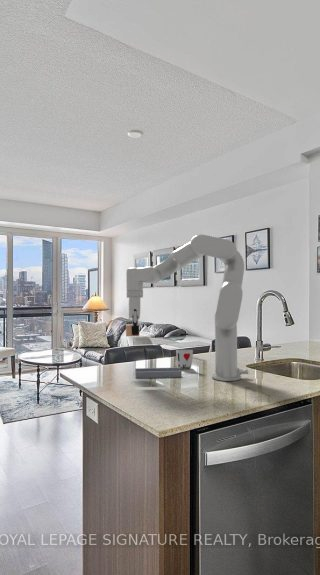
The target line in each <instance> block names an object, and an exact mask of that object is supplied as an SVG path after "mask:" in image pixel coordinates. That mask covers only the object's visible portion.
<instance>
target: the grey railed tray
mask: <svg viewBox="0 0 320 575" xmlns="http://www.w3.org/2000/svg"><path fill="white" fill-rule="evenodd" d="M134 374H135V379H149V378H151V379H153V378H154V379H155V378H161V379H162V378H182V370H180V369H179V367H178V366H177V367H147V368H146V367H145V368H143V367H142V368H141V367H138V368H135V372H134Z"/></svg>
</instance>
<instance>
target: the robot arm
mask: <svg viewBox="0 0 320 575" xmlns="http://www.w3.org/2000/svg"><path fill="white" fill-rule="evenodd" d="M204 256H209V257H211V258H218V259H219V260H220V261H221V262H222V263H223V264H224V272H223V278H222V283H221V287H220V290H219V294H218V300H217V305H216V310H215V313H214V332H215V333H214V336H215V337H214V351H215V352H214V354H215V355H214V356H215V359H214V361H215V373H213V374H212V375H211V378H212V379H213V380H216V381H219V382H220V381H221V382H235V381H239V380H241V379H242V376H241V375H249V369H243V368H239V367H238V329H237V328H238V325H237V324H238V320H239V316H240V311H241V305H242V300H243V294H244V292H243V289H242V288H243V279H244V274H245V261H244V259H243V256H242V254H241V253H240V252H239V251H238V249H237V247H236V244H235V243H234V242H233V241H232V240H230V239H225V238H222V237H216V236H212V235H207V234H202V233H200V234H196V235H194V236H193V237H192V238H191V240H190V241H189V242H187V243H185V244H184V245H182V246H180V247H178V248H177V249H175V250H173V251H172V252H171V253H170V254H169V255H168V257H166V258H165V259H164V260H163V261H161V262H160V263H158V264H156V265H154V266H144V267H128V268H127V269H126V275H125V276H126V298H127V299H128V319H129V320H131V324H132V335H139V336H140V325H139V326H138V324H139V320H140V318H141V298H144V283H146V284H151V285H152V284H153V285H154V284H158V283H159V282H161V281H162V280H166V278H168V277H169V276H171V275H173V274H175V273H176V272H178V271H180V270H182V269H183V268H184V267H186V266H188V265H190V264H191V263H193V262H195V261H196V260H198V259H200V258H201V257H204Z"/></svg>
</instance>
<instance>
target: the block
mask: <svg viewBox="0 0 320 575" xmlns="http://www.w3.org/2000/svg"><path fill="white" fill-rule="evenodd" d="M138 326H139V327H140V323H138ZM125 336H126V337H140V334H139V335H132V323H131V324H129V323H128V324H127V323H126V324H125Z"/></svg>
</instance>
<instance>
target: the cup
mask: <svg viewBox="0 0 320 575" xmlns="http://www.w3.org/2000/svg"><path fill="white" fill-rule="evenodd" d="M175 353H176V354H175V356H176V363H177V368H178V367H179V371H188V370H191V369H192V363H193V359H194V358H193V356H194V355H193V354H194V351H193V349H176V350H175Z"/></svg>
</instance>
